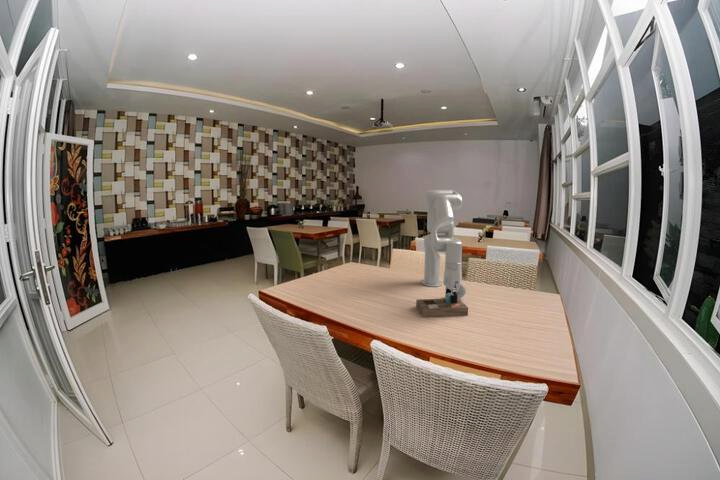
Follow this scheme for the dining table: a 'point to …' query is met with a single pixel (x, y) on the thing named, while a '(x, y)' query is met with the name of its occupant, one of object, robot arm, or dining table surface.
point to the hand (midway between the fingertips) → (451, 299)
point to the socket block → (440, 308)
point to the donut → (461, 291)
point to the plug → (448, 298)
